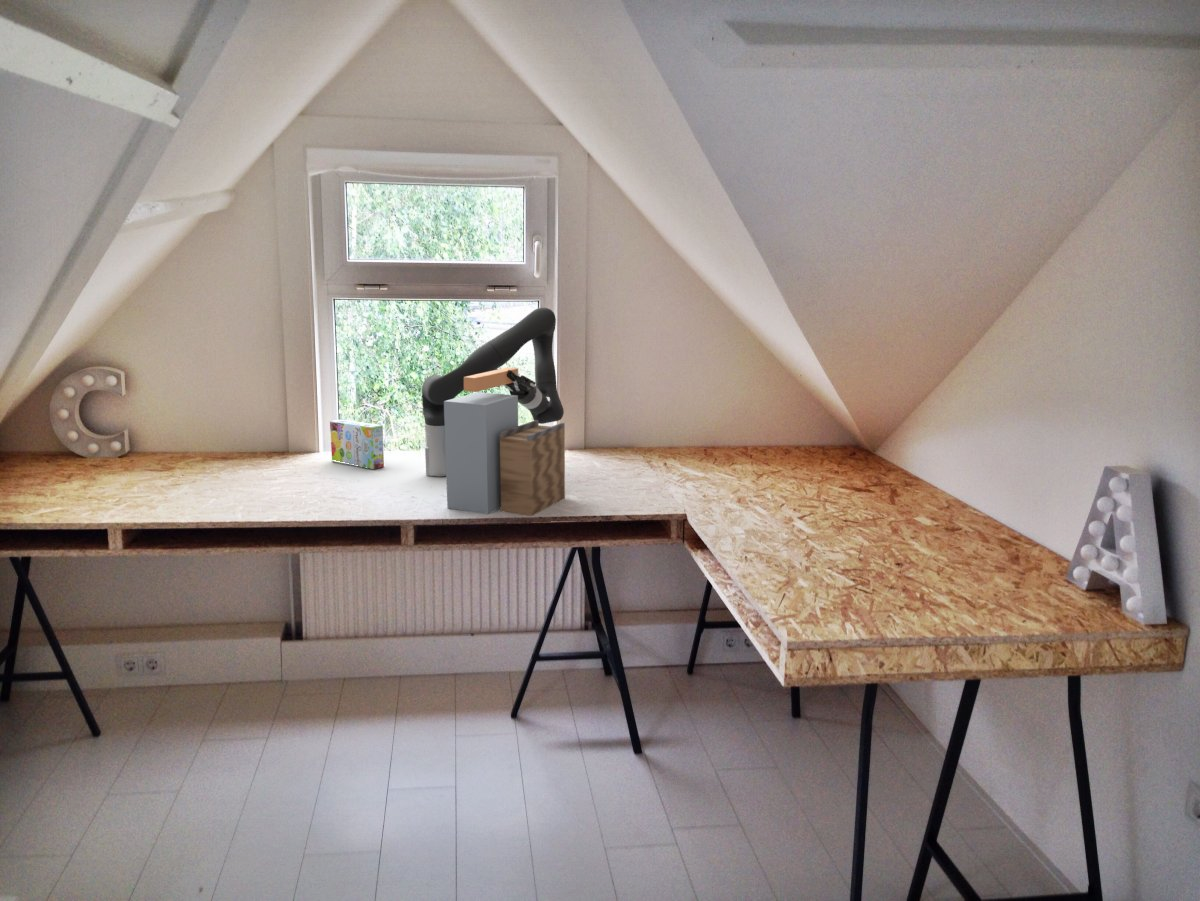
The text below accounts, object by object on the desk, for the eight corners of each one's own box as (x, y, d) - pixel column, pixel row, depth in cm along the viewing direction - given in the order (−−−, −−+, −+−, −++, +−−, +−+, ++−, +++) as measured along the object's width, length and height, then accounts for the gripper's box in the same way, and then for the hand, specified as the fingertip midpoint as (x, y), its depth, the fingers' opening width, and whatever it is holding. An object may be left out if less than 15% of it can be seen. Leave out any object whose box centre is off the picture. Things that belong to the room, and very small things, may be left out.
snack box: (385, 467, 327) (383, 424, 324) (373, 470, 323) (371, 427, 319) (342, 459, 338) (340, 418, 335) (330, 462, 334) (328, 420, 330)
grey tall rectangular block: (487, 514, 272) (485, 404, 265) (447, 508, 278) (443, 401, 270) (519, 499, 288) (517, 395, 281) (480, 493, 293) (477, 392, 286)
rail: (475, 392, 269) (475, 378, 268) (463, 390, 270) (463, 377, 269) (518, 381, 290) (518, 368, 289) (507, 380, 292) (506, 367, 291)
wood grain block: (531, 515, 270) (530, 435, 265) (501, 511, 274) (499, 432, 269) (564, 498, 289) (564, 423, 284) (536, 494, 293) (535, 420, 288)
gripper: (509, 381, 303) (484, 359, 288) (548, 384, 297) (525, 362, 282) (504, 402, 301) (478, 381, 286) (543, 406, 295) (518, 385, 280)
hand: (501, 372), depth 284 cm, fingers closed on rail, 4 cm apart
